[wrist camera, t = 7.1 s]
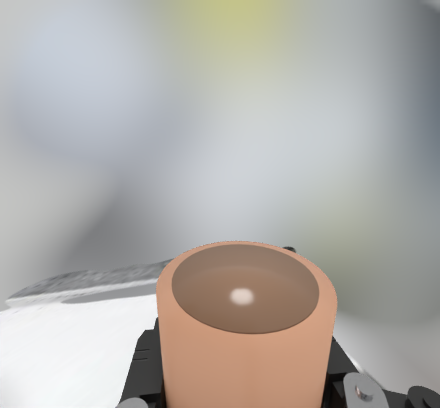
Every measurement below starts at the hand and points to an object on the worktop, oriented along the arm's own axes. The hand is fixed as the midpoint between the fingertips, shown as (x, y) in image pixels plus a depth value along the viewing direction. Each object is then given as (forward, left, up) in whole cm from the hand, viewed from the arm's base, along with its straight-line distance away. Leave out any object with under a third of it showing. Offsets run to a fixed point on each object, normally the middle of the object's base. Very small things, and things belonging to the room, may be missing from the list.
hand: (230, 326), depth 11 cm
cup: (0, -2, -7) cm, 7 cm away
